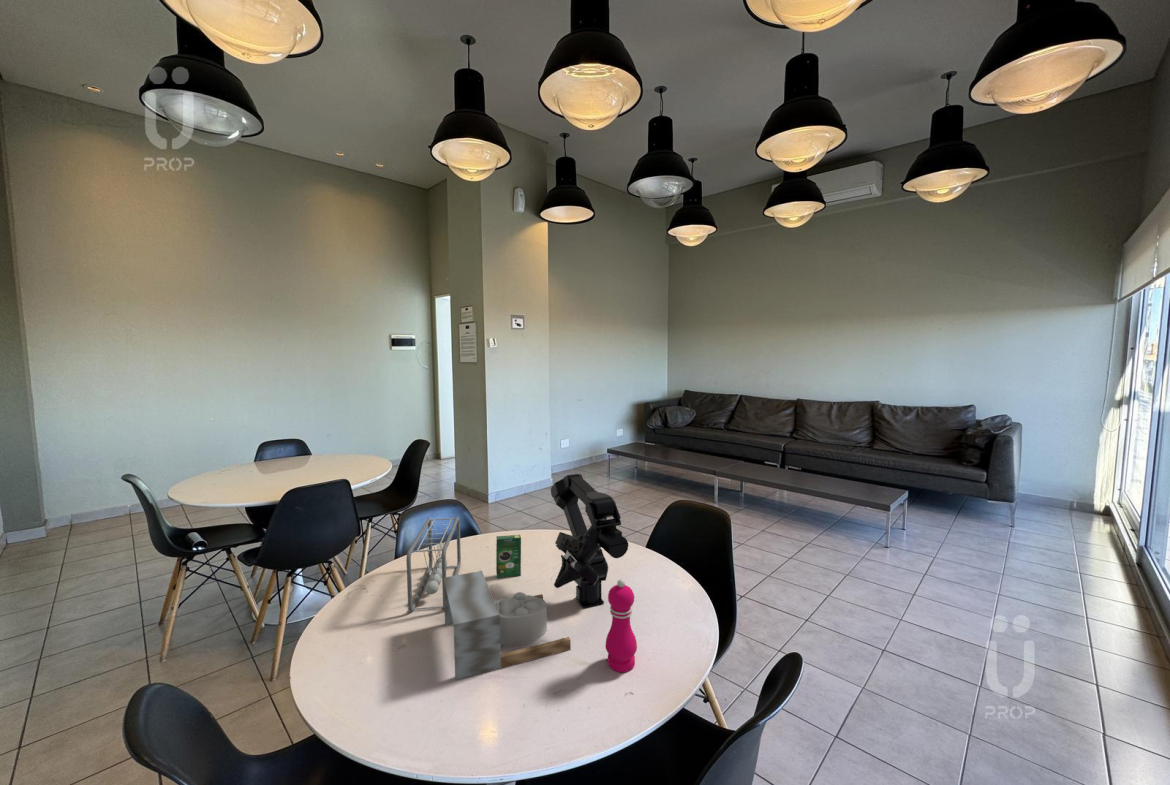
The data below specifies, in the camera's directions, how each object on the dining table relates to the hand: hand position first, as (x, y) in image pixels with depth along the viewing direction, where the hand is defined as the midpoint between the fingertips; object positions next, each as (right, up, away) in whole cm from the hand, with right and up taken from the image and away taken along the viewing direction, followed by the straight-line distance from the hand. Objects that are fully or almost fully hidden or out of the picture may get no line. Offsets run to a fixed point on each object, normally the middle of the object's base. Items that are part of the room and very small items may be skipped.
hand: (555, 586), depth 121 cm
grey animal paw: (-8, -11, -3) cm, 14 cm away
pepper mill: (+16, -11, -15) cm, 25 cm away
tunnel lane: (-13, -11, -5) cm, 17 cm away
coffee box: (-17, -8, +28) cm, 34 cm away
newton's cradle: (-38, -9, +21) cm, 44 cm away
